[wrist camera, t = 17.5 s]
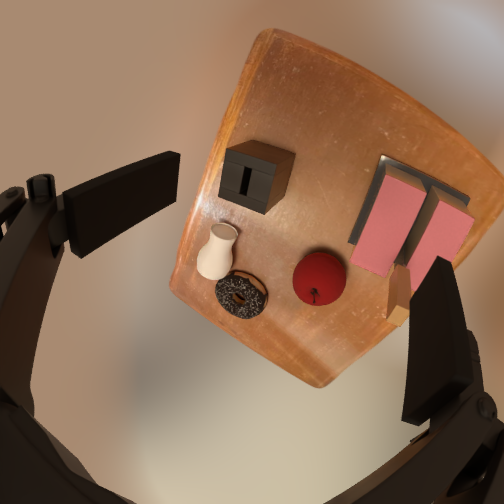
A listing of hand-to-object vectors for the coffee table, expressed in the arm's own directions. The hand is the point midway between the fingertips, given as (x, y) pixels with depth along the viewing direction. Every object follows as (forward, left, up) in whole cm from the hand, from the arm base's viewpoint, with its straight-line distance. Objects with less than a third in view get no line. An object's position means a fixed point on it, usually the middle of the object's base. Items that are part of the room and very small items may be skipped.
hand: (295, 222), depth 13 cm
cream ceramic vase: (+28, -18, -35) cm, 48 cm away
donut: (+38, -12, -35) cm, 53 cm away
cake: (+9, +12, -35) cm, 38 cm away
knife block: (+10, -13, -35) cm, 38 cm away
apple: (+24, +2, -35) cm, 42 cm away
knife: (+13, +12, -34) cm, 38 cm away
